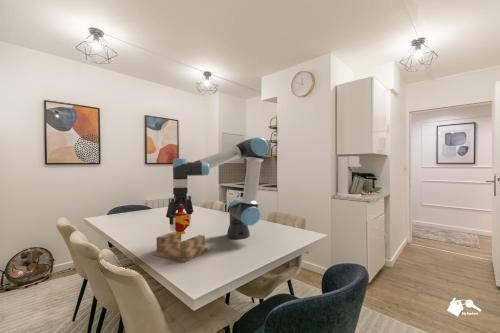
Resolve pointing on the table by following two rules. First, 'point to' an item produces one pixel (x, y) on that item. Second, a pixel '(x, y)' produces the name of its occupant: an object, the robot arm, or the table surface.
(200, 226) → the table surface
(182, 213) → the potion bottle
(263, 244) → the table surface
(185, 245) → the notched wooden block
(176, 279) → the table surface
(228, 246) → the table surface
